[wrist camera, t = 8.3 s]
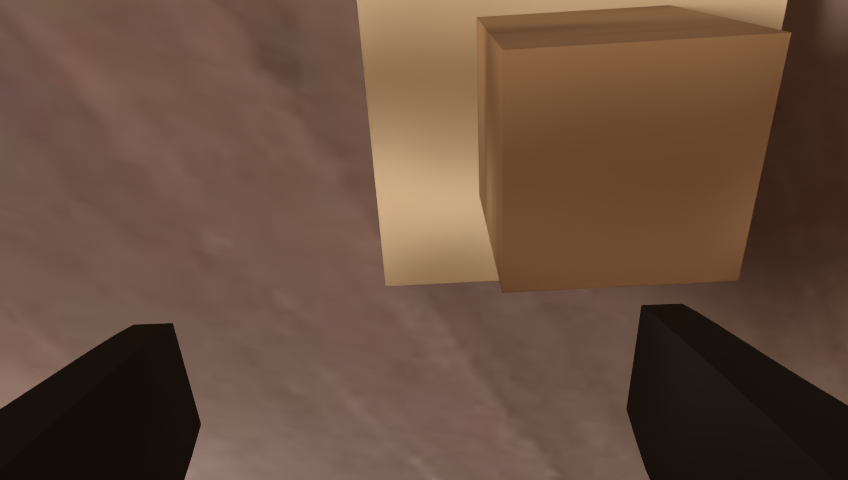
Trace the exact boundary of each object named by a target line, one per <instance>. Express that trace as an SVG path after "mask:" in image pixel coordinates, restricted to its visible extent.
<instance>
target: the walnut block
mask: <svg viewBox="0 0 848 480" xmlns="http://www.w3.org/2000/svg"><path fill="white" fill-rule="evenodd" d="M476 33H477V93H478V154H479V196H480V200H481V205H482V209H483V213H484V217H485V222H486V226H487V230H488V234H489V239H490V243H491V247H492V251H493V256H494V260H495V264H496V269H497V273H498V277H499V281H500V286H501V290H502V293H506V292H526V291H545V290H565V289H585V288H604V287H624V286H643V285H663V284H682V283H702V282H721V281H738V279H739V275H740V270H741V265H742V261H743V256H744V251H745V247H746V242H747V238H748V233H749V228H750V224H751V219H752V214H753V210H754V205H755V200H756V196H757V191H758V186H759V182H760V177H761V172H762V168H763V163H764V158H765V154H766V149H767V144H768V140H769V135H770V130H771V126H772V121H773V116H774V112H775V107H776V102H777V98H778V93H779V88H780V84H781V79H782V74H783V70H784V65H785V60H786V56H787V51H788V46H789V42H790V37H791V32H787V31H783V30H778V29H774V28H769V27H765V26H760V25H756V24H751V23H747V22H742V21H738V20H733V19H729V18H725V17H720V16H716V15H711V14H707V13H702V12H698V11H693V10H689V9H684V8H680V7H675V6H671V5H664V6H648V7H632V8H615V9H599V10H583V11H567V12H551V13H535V14H519V15H503V16H487V17H476Z"/></svg>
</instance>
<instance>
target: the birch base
mask: <svg viewBox="0 0 848 480" xmlns="http://www.w3.org/2000/svg"><path fill="white" fill-rule="evenodd" d="M787 1H788V0H357V6H358V16H359V26H360V36H361V46H362V56H363V66H364V75H365V85H366V95H367V105H368V115H369V125H370V135H371V145H372V155H373V164H374V174H375V184H376V194H377V204H378V214H379V224H380V234H381V244H382V253H383V263H384V273H385V283H386V286H397V285H417V284H437V283H456V282H476V281H495V280H499V277H498V273H497V269H496V264H495V260H494V256H493V251H492V247H491V243H490V239H489V234H488V230H487V226H486V222H485V217H484V213H483V209H482V205H481V200H480V196H479V154H478V93H477V33H476V17H487V16H503V15H519V14H535V13H551V12H567V11H583V10H599V9H615V8H632V7H648V6H664V5H671V6H675V7H680V8H684V9H689V10H693V11H698V12H702V13H707V14H711V15H716V16H720V17H725V18H729V19H733V20H738V21H742V22H747V23H751V24H756V25H760V26H765V27H769V28H774V29H778V30H782V25H783V20H784V15H785V10H786V5H787Z"/></svg>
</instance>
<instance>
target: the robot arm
mask: <svg viewBox="0 0 848 480" xmlns="http://www.w3.org/2000/svg"><path fill="white" fill-rule="evenodd" d="M627 412H628V415H629V419H630V422H631V425H632V429H633V432H634V435H635V438H636V442H637V445H638V448H639V451H640V454H641V457H642V460H643V463H644V466H645V469H646V471H647V474H648V476H649V478H650V480H848V405H846V404H844V403H843V402H841V401H839V400H838V399H836V398H834V397H833V396H831V395H829V394H828V393H826V392H824V391H823V390H821V389H819V388H818V387H816V386H814V385H813V384H811V383H809V382H808V381H806V380H804V379H803V378H801V377H800V376H798V375H796V374H795V373H793V372H792V371H790V370H788V369H787V368H785V367H784V366H782V365H780V364H779V363H777V362H776V361H774V360H773V359H771V358H769V357H768V356H766V355H765V354H763V353H761V352H760V351H758V350H757V349H755V348H754V347H752V346H751V345H749V344H747V343H746V342H744V341H743V340H741V339H740V338H738V337H736V336H735V335H733V334H732V333H730V332H729V331H727V330H725V329H724V328H722V327H721V326H719V325H717V324H716V323H714V322H713V321H711V320H709V319H708V318H706V317H705V316H703V315H701V314H700V313H698V312H696V311H694V310H693V309H691V308H689V307H687V306H685V305H683V304H662V305H642V306H641V313H640V320H639V327H638V334H637V341H636V348H635V354H634V361H633V368H632V375H631V382H630V389H629V396H628V403H627ZM200 426H201V422H200V419H199V415H198V412H197V408H196V405H195V401H194V398H193V394H192V390H191V387H190V383H189V380H188V376H187V373H186V369H185V365H184V362H183V358H182V355H181V351H180V348H179V344H178V341H177V337H176V333H175V330H174V326H173V323H167V324H141V325H132V326H131V327H129V328H127V329H125V330H123V331H121V332H119V333H118V334H116V335H114V336H113V337H111V338H109V339H108V340H106V341H104V342H103V343H101V344H100V345H98V346H97V347H95V348H93V349H92V350H90V351H89V352H87V353H86V354H84V355H83V356H81V357H79V358H78V359H76V360H75V361H73V362H72V363H70V364H69V365H67V366H66V367H64V368H63V369H61V370H60V371H58V372H57V373H55V374H53V375H52V376H50V377H49V378H47V379H46V380H44V381H43V382H41V383H40V384H38V385H37V386H35V387H34V388H32V389H30V390H29V391H27V392H26V393H24V394H23V395H21V396H20V397H18V398H17V399H15V400H14V401H12V402H11V403H9V404H7V405H6V406H4V407H3V408H1V409H0V480H184V479H185V476H186V473H187V470H188V466H189V463H190V460H191V457H192V454H193V450H194V447H195V443H196V440H197V436H198V433H199V429H200Z"/></svg>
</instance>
